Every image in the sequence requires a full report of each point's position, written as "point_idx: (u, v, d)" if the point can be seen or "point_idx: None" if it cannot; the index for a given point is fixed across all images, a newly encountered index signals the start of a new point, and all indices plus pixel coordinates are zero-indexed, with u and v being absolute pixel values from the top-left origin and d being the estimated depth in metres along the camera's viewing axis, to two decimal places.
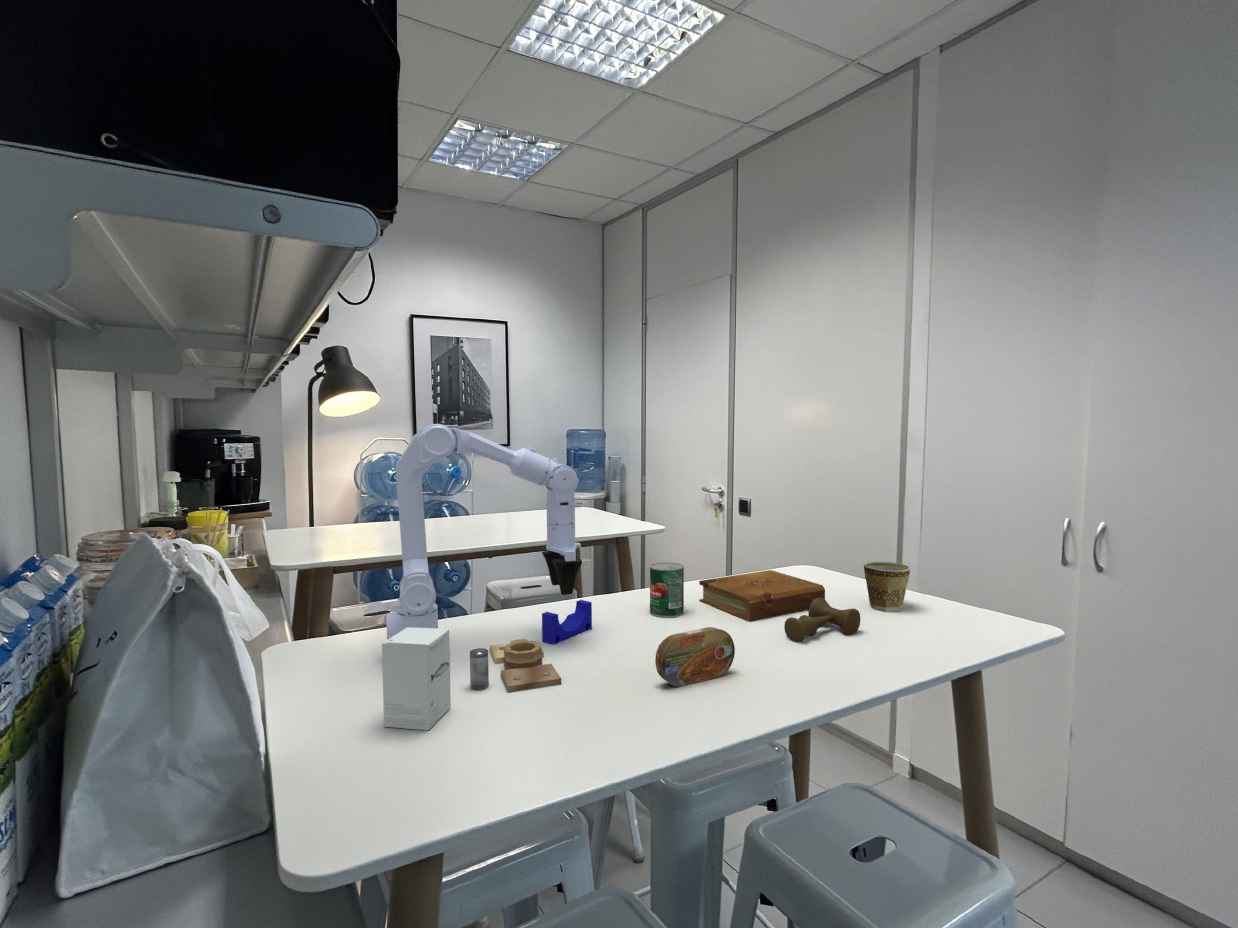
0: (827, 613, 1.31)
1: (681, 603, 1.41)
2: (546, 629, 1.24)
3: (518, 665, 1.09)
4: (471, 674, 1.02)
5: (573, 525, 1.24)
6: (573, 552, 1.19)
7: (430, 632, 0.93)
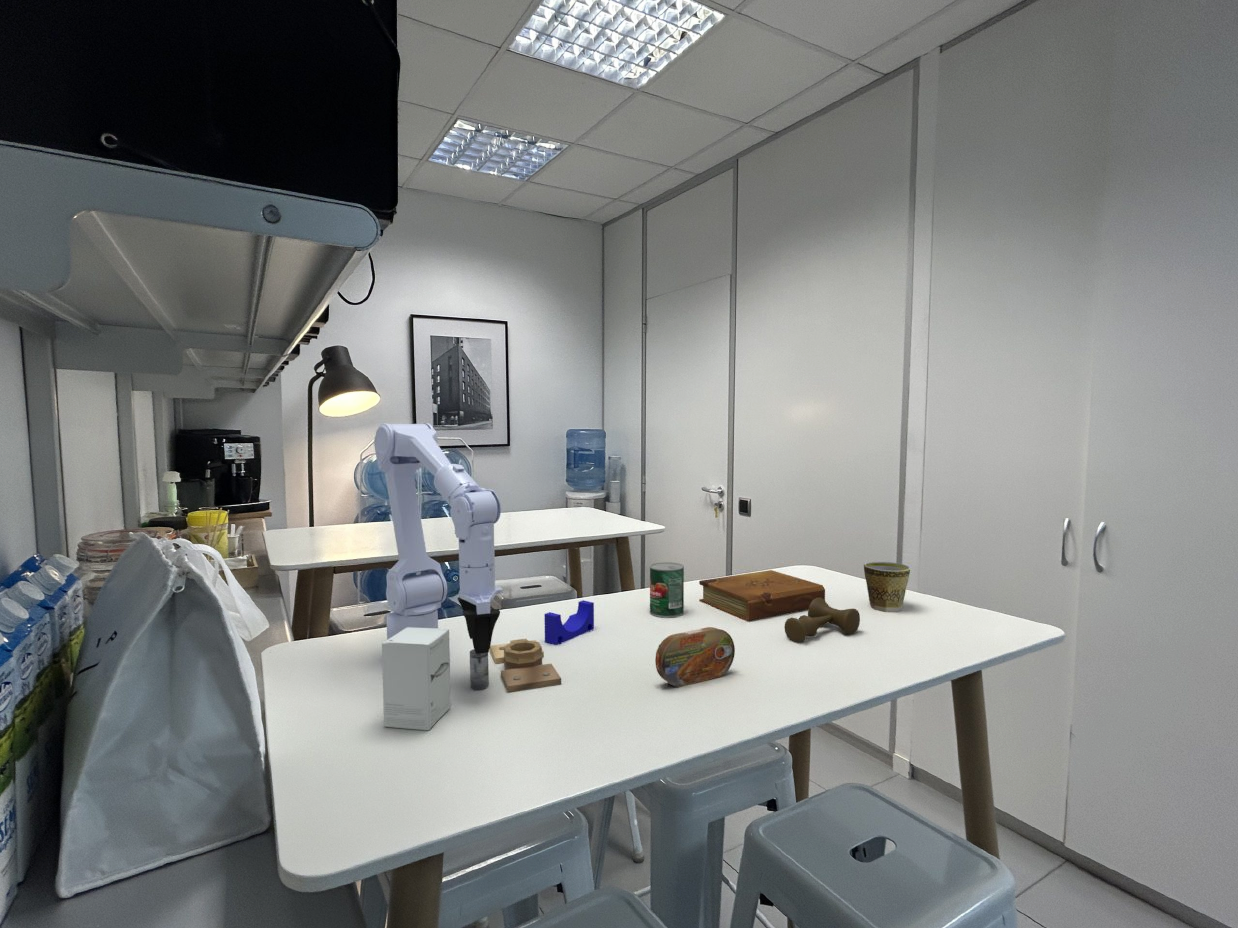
0: (826, 613, 1.31)
1: (681, 603, 1.41)
2: (549, 630, 1.24)
3: (518, 665, 1.09)
4: (471, 674, 1.02)
5: (491, 567, 1.01)
6: (487, 603, 0.96)
7: (430, 632, 0.93)
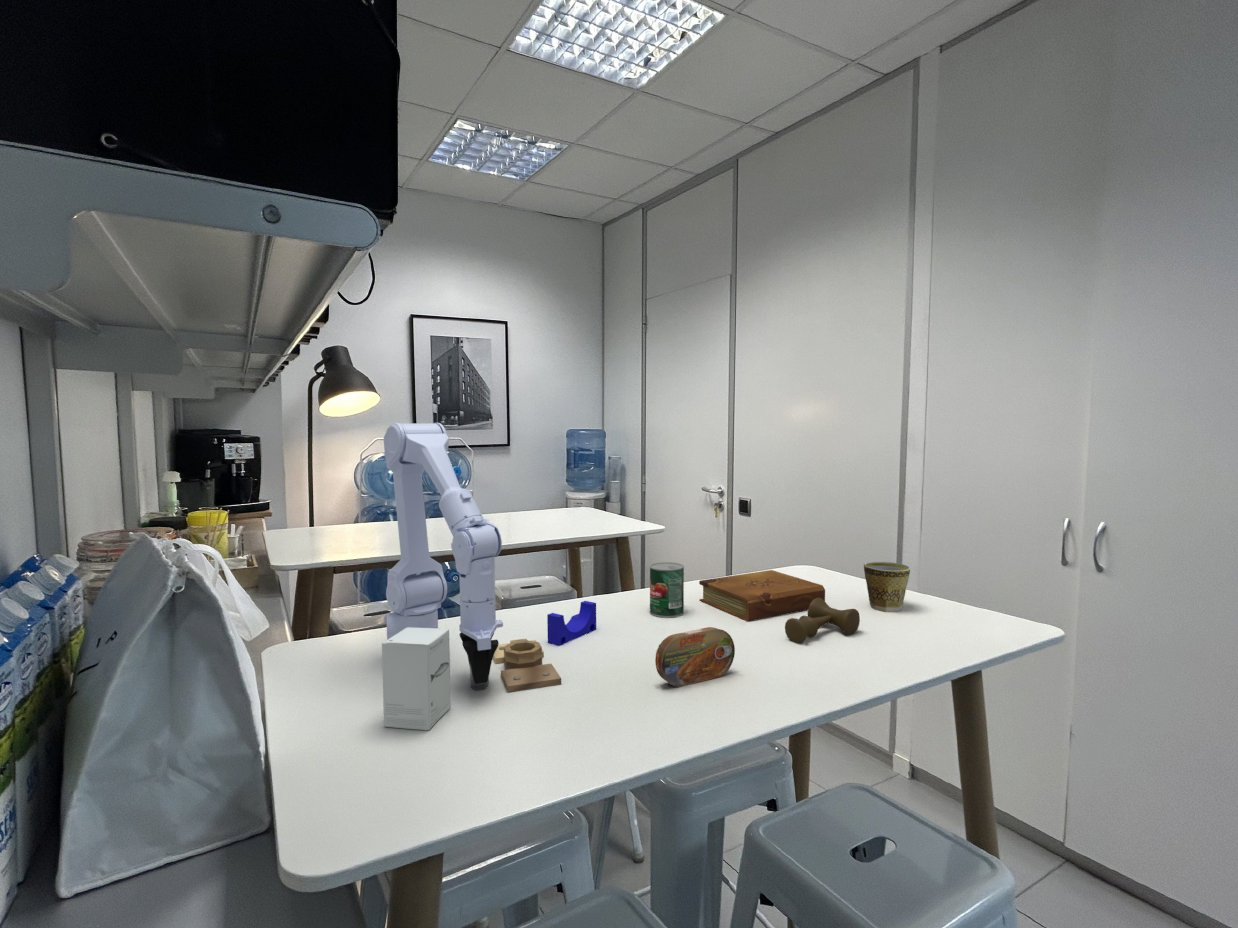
0: (826, 613, 1.31)
1: (681, 603, 1.41)
2: (552, 630, 1.23)
3: (518, 665, 1.09)
4: (471, 674, 1.02)
5: (492, 601, 1.02)
6: (487, 639, 0.96)
7: (430, 632, 0.93)
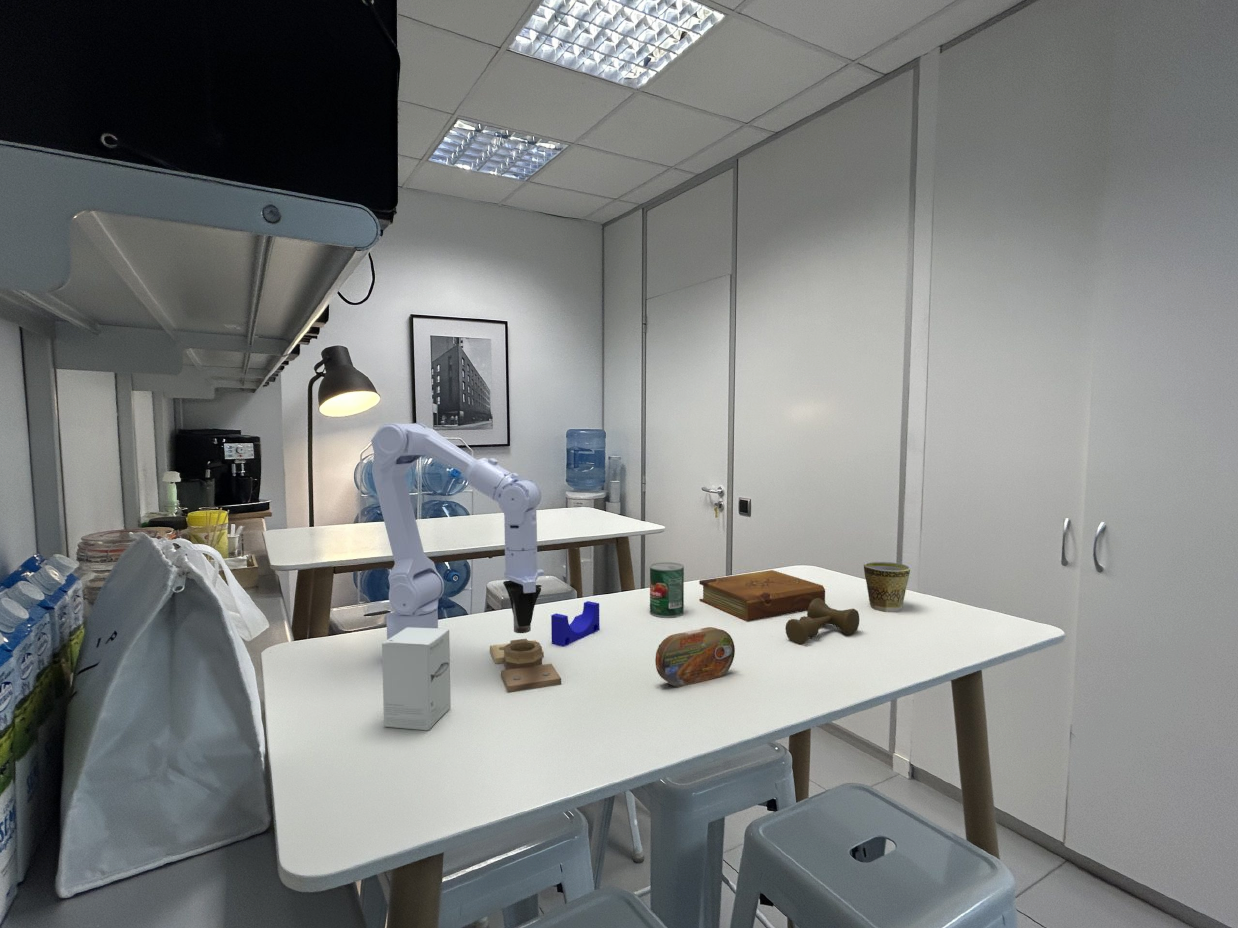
0: (826, 614, 1.31)
1: (681, 603, 1.41)
2: (556, 631, 1.23)
3: (518, 665, 1.09)
4: (515, 618, 1.10)
5: (534, 550, 1.10)
6: (532, 582, 1.04)
7: (430, 632, 0.93)
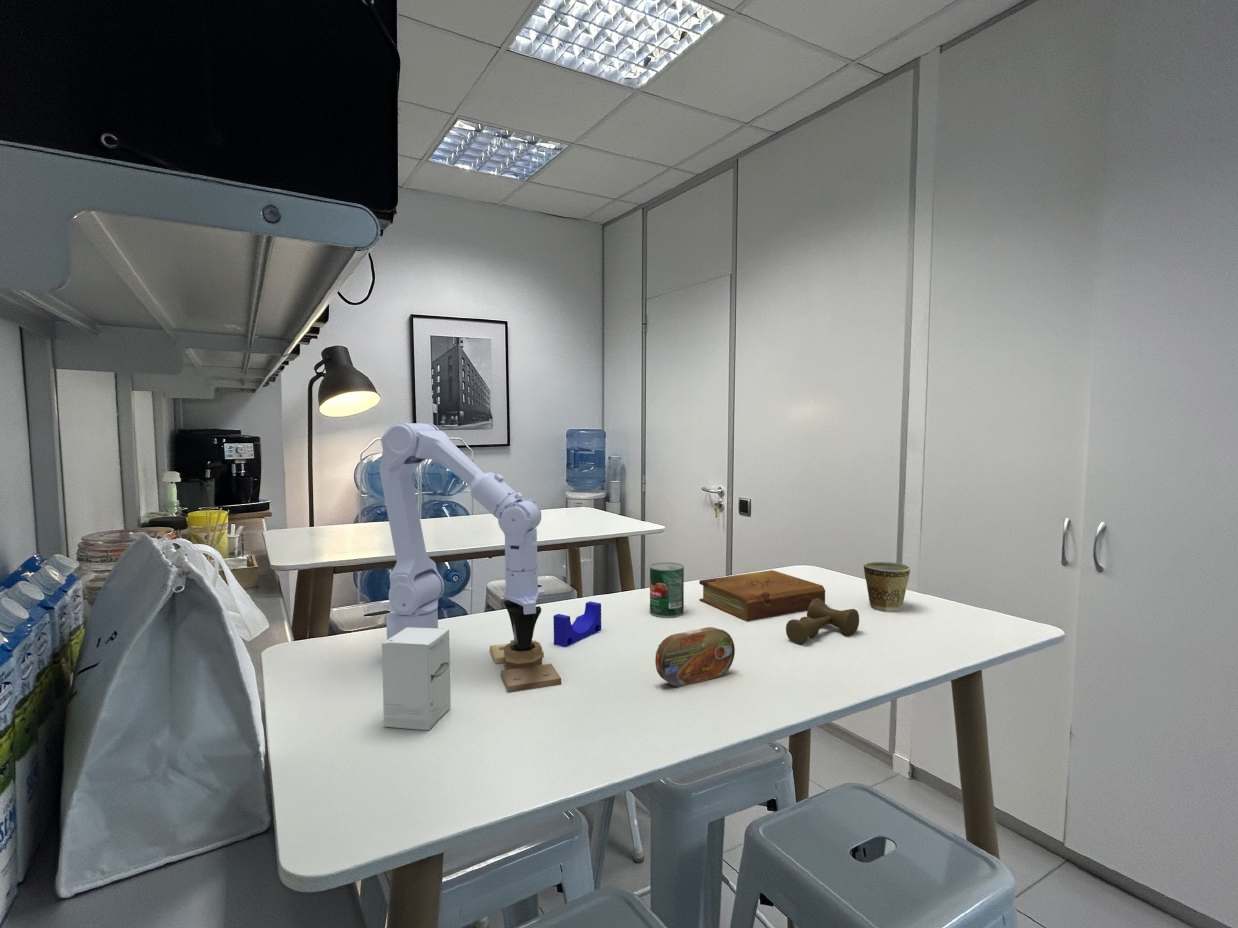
0: (826, 614, 1.31)
1: (681, 603, 1.41)
2: (558, 631, 1.22)
3: (518, 665, 1.09)
4: (515, 638, 1.11)
5: (535, 571, 1.10)
6: (533, 604, 1.05)
7: (430, 632, 0.93)
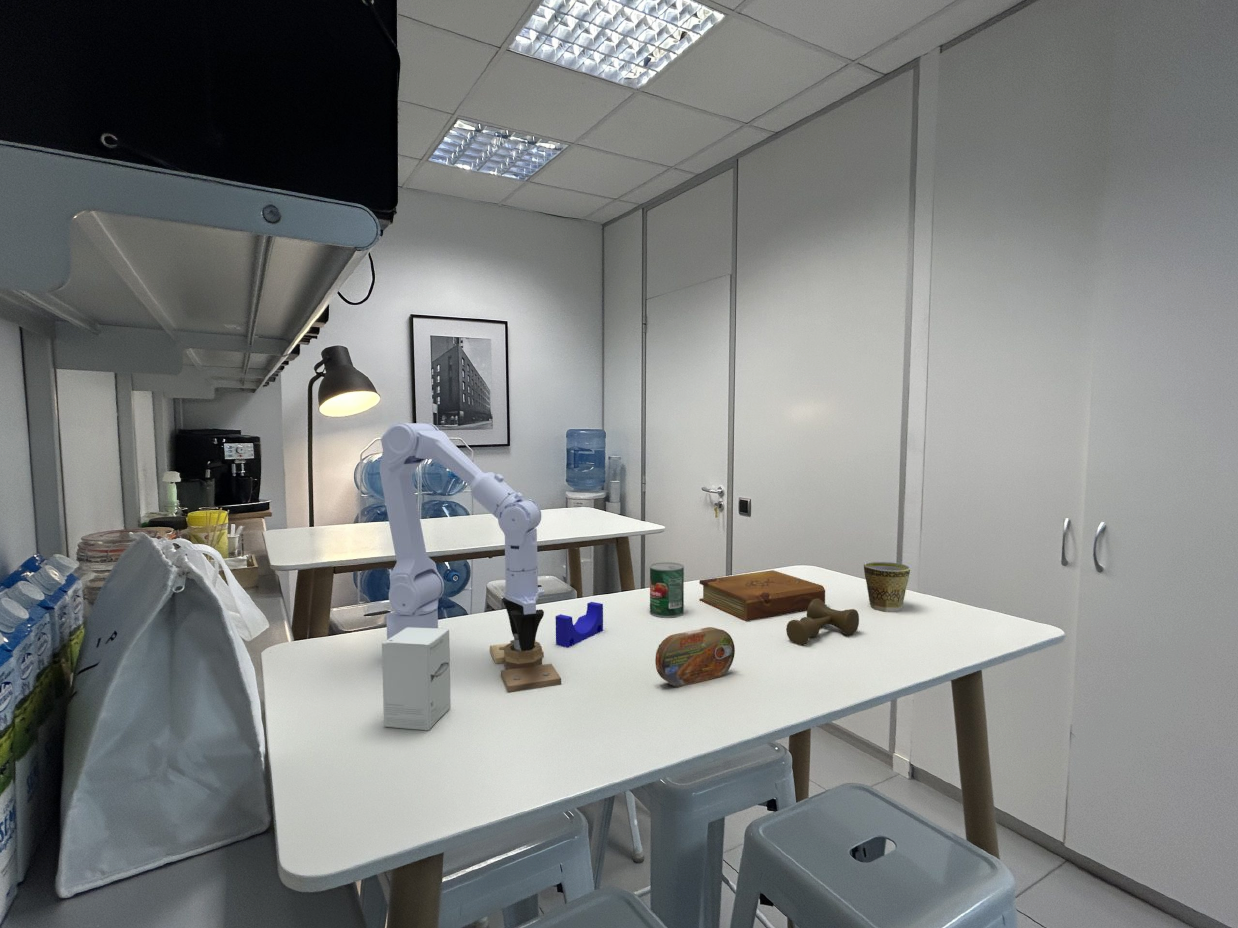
0: (826, 614, 1.31)
1: (681, 603, 1.41)
2: (560, 632, 1.22)
3: (518, 665, 1.09)
4: None
5: (535, 571, 1.10)
6: (533, 604, 1.05)
7: (430, 632, 0.93)
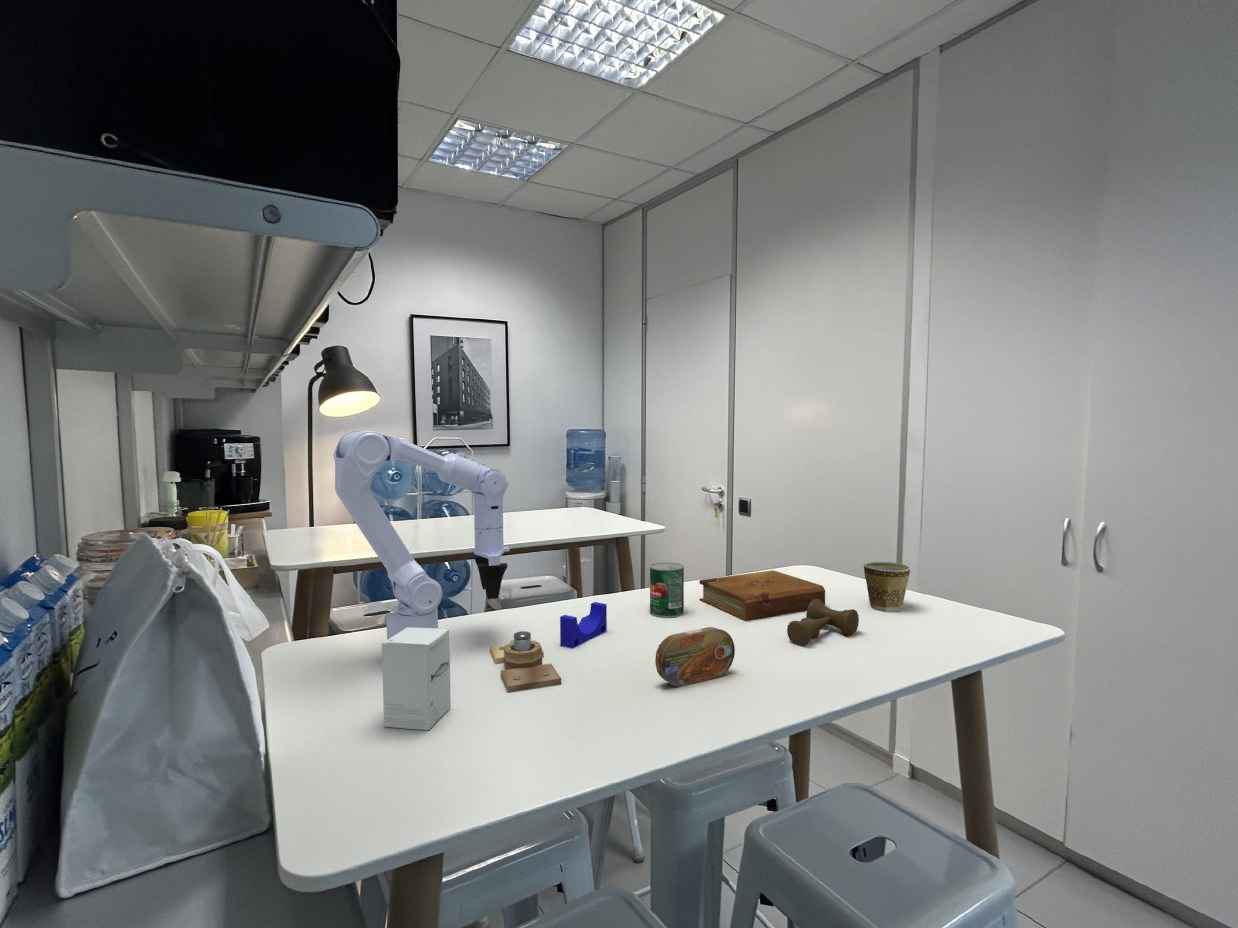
0: (825, 615, 1.30)
1: (681, 603, 1.41)
2: (565, 632, 1.22)
3: (518, 665, 1.09)
4: None
5: (500, 529, 1.24)
6: (497, 556, 1.19)
7: (430, 632, 0.93)
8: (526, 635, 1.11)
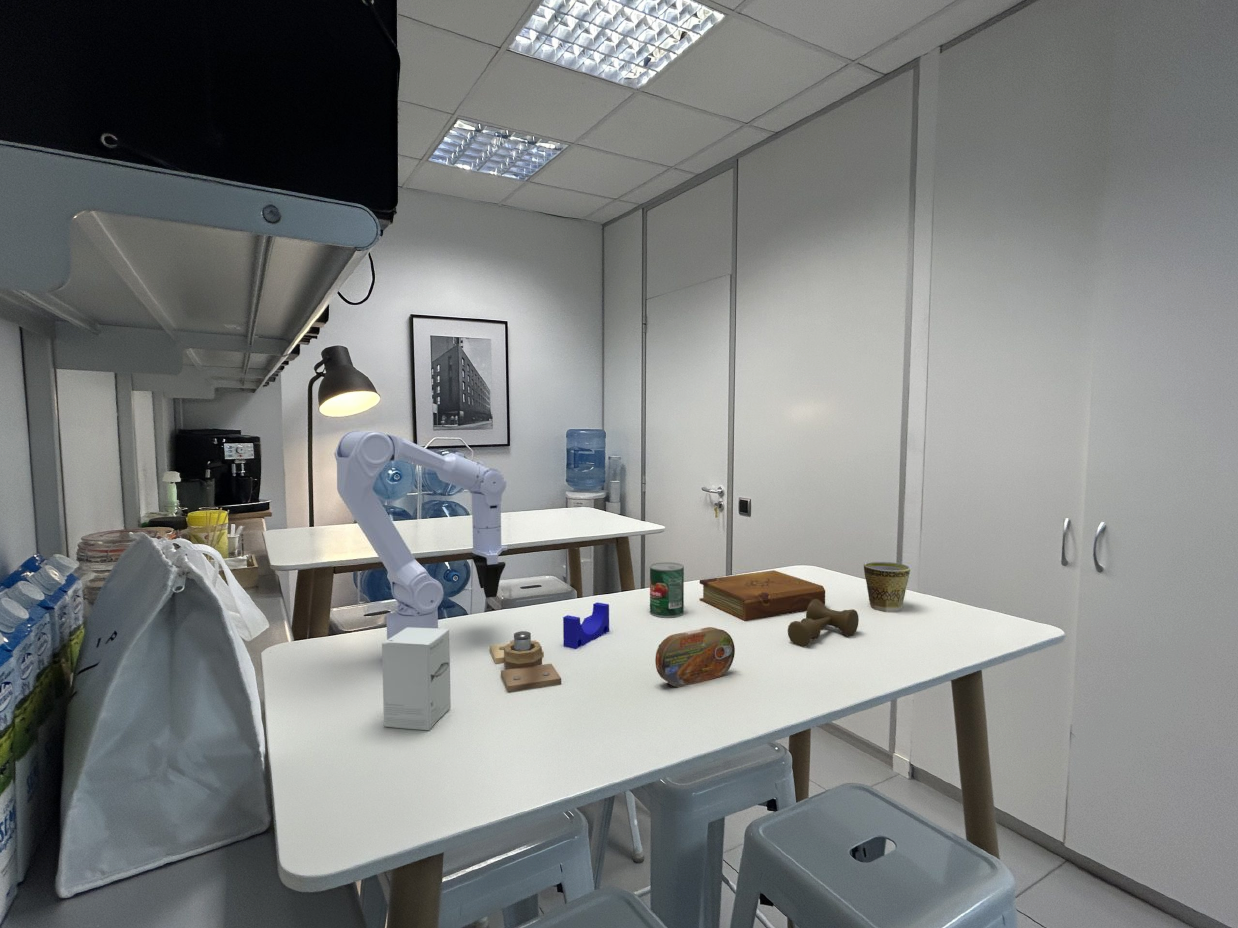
0: (825, 615, 1.30)
1: (681, 603, 1.41)
2: (568, 633, 1.21)
3: (518, 665, 1.09)
4: None
5: (498, 528, 1.25)
6: (495, 555, 1.20)
7: (430, 632, 0.93)
8: (526, 635, 1.11)
